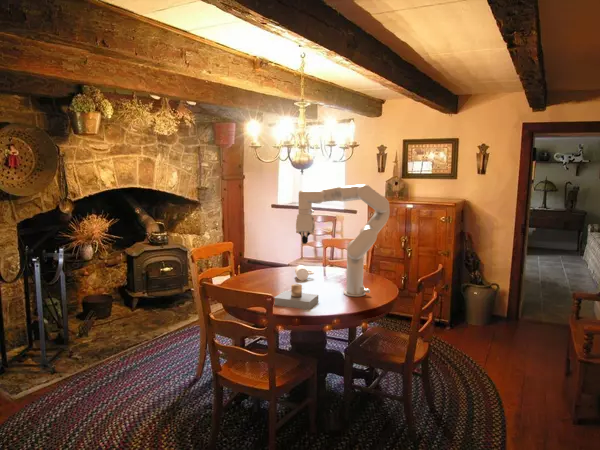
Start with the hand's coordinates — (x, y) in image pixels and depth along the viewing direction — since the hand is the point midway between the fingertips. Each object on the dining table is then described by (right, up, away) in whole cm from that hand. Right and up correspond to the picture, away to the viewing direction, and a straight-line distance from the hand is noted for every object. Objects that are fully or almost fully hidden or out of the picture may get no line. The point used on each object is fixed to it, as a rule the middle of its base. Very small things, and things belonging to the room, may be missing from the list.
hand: (304, 243), depth 252 cm
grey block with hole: (-5, -32, -18) cm, 36 cm away
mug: (0, -25, +36) cm, 44 cm away
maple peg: (-5, -31, -18) cm, 36 cm away
